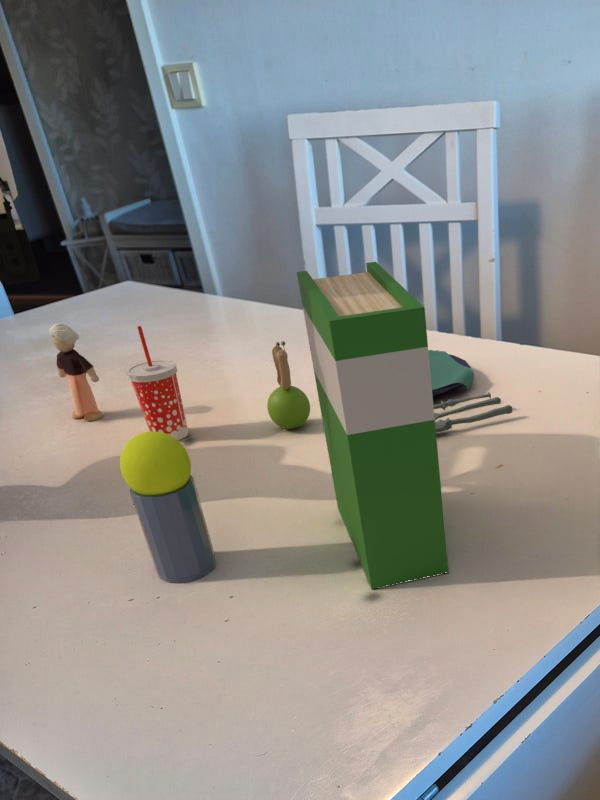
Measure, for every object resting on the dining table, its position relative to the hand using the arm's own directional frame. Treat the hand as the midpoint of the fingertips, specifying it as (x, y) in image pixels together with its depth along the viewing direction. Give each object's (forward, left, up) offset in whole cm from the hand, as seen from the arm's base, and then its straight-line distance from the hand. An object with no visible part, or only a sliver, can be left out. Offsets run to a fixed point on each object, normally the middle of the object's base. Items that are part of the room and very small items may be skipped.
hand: (14, 271), depth 75 cm
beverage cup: (+5, +24, -26) cm, 35 cm away
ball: (+10, -12, -15) cm, 22 cm away
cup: (+10, -12, -26) cm, 30 cm away
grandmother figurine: (-7, +35, -26) cm, 44 cm away
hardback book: (+30, -12, -26) cm, 41 cm away
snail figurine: (+21, +21, -26) cm, 39 cm away
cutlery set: (+38, +27, -26) cm, 53 cm away
